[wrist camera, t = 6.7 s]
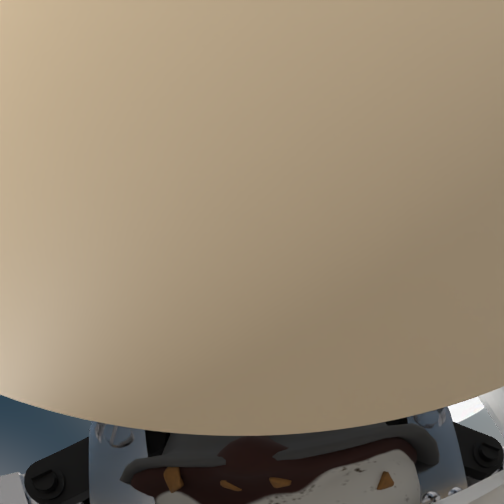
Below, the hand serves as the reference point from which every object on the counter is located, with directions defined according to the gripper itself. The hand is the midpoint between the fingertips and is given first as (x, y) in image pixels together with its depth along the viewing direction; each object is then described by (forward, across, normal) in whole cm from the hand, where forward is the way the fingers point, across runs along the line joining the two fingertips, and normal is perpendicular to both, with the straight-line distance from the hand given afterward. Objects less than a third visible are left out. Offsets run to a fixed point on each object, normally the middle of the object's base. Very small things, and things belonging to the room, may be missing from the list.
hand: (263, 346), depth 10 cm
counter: (+13, 0, -10) cm, 16 cm away
